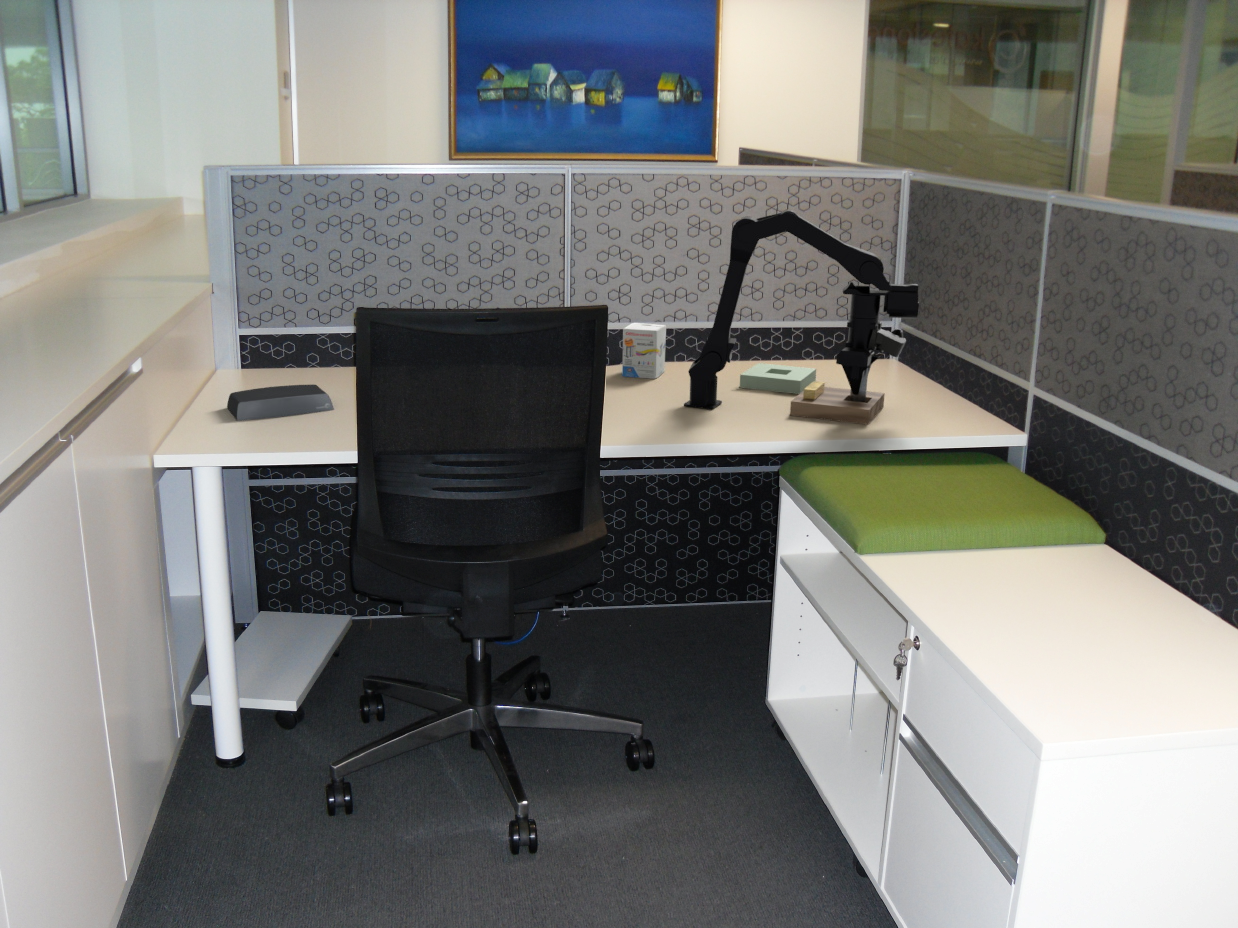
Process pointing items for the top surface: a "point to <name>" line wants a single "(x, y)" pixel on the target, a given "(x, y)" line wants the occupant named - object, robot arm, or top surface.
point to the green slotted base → (777, 378)
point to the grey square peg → (861, 390)
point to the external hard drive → (278, 402)
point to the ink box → (644, 350)
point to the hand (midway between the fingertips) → (858, 391)
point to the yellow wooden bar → (813, 390)
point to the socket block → (838, 406)
